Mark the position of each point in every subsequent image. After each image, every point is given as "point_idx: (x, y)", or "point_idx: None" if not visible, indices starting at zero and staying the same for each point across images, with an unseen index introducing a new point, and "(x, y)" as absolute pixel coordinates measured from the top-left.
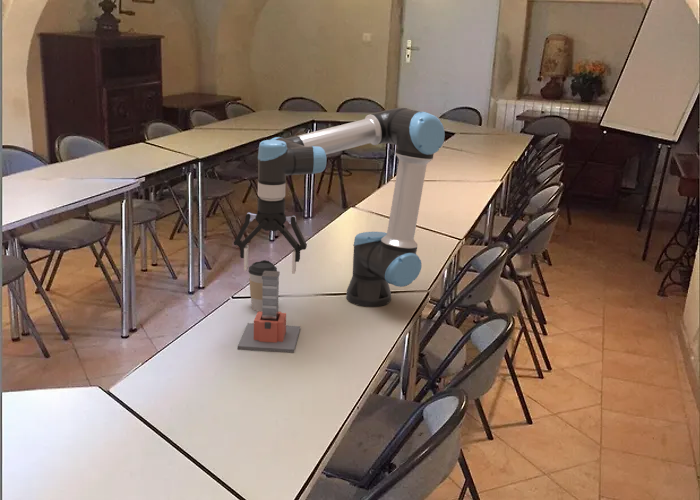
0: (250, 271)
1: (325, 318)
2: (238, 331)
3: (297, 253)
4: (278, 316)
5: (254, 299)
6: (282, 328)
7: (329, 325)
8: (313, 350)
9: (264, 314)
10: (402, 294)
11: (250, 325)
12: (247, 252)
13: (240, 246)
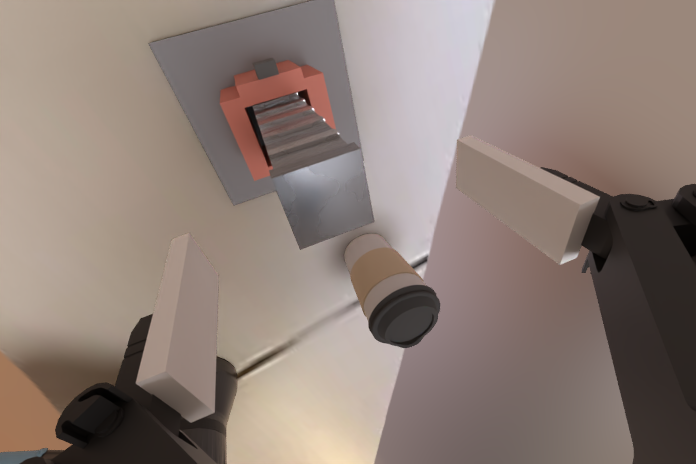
0: (431, 292)
1: None
2: (370, 118)
3: (135, 380)
4: None
5: (386, 246)
6: (221, 98)
7: None
8: (104, 89)
9: (298, 104)
10: None
11: None
12: (533, 213)
13: (639, 196)
